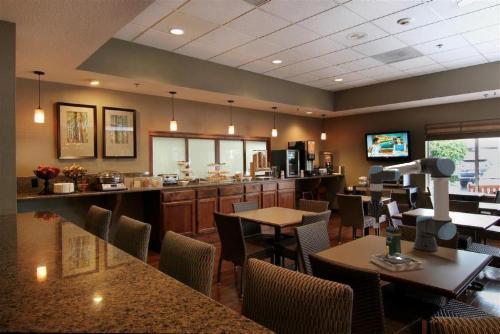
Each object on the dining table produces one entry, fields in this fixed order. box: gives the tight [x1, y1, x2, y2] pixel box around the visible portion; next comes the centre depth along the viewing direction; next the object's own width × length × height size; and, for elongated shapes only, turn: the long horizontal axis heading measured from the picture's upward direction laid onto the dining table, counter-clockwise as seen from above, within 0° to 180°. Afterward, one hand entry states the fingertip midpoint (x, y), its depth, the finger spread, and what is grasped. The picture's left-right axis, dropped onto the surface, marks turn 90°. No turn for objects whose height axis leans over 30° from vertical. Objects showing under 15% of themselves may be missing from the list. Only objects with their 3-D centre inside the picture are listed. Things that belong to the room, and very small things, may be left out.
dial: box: [382, 245, 412, 264], centre depth 195 cm, size 16×16×9 cm
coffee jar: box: [385, 226, 402, 254], centre depth 214 cm, size 10×8×19 cm
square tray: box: [370, 253, 423, 272], centre depth 195 cm, size 20×20×4 cm
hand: (375, 227), depth 203 cm, fingers closed
